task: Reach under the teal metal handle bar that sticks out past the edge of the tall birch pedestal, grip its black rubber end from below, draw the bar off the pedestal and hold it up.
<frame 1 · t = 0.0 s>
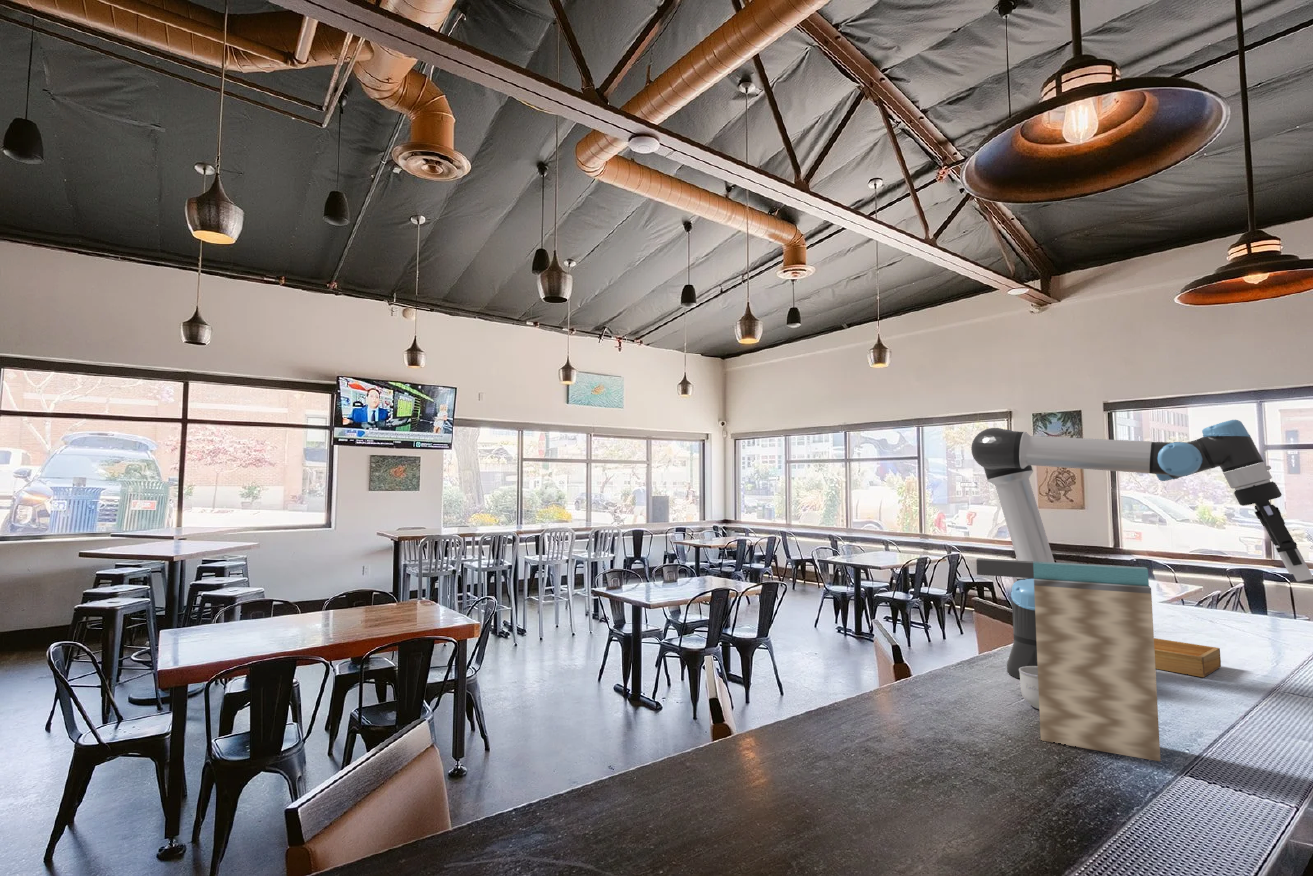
hand: (1301, 576, 141), 28 cm above the bar counter, tool tilted 20°, fingers open, 13 cm apart
pedestal: (1096, 742, 120), on the bar counter
handle bar: (1057, 579, 124), point 30 cm above the bar counter, touching pedestal
tray: (1140, 662, 175), on the bar counter
teacup: (1057, 710, 137), on the bar counter
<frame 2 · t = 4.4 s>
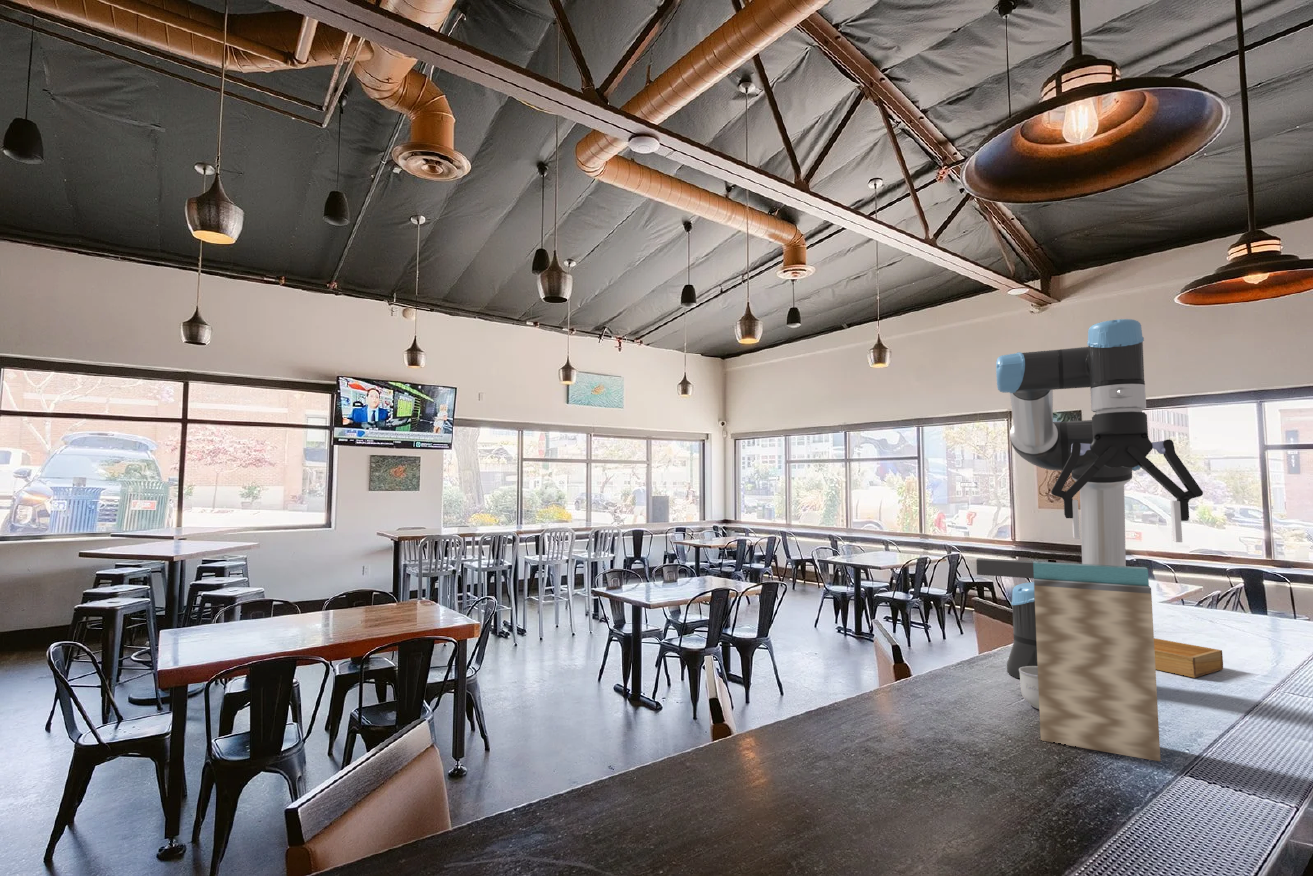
hand: (1125, 540, 105), 39 cm above the bar counter, tool pointing down, fingers open, 13 cm apart
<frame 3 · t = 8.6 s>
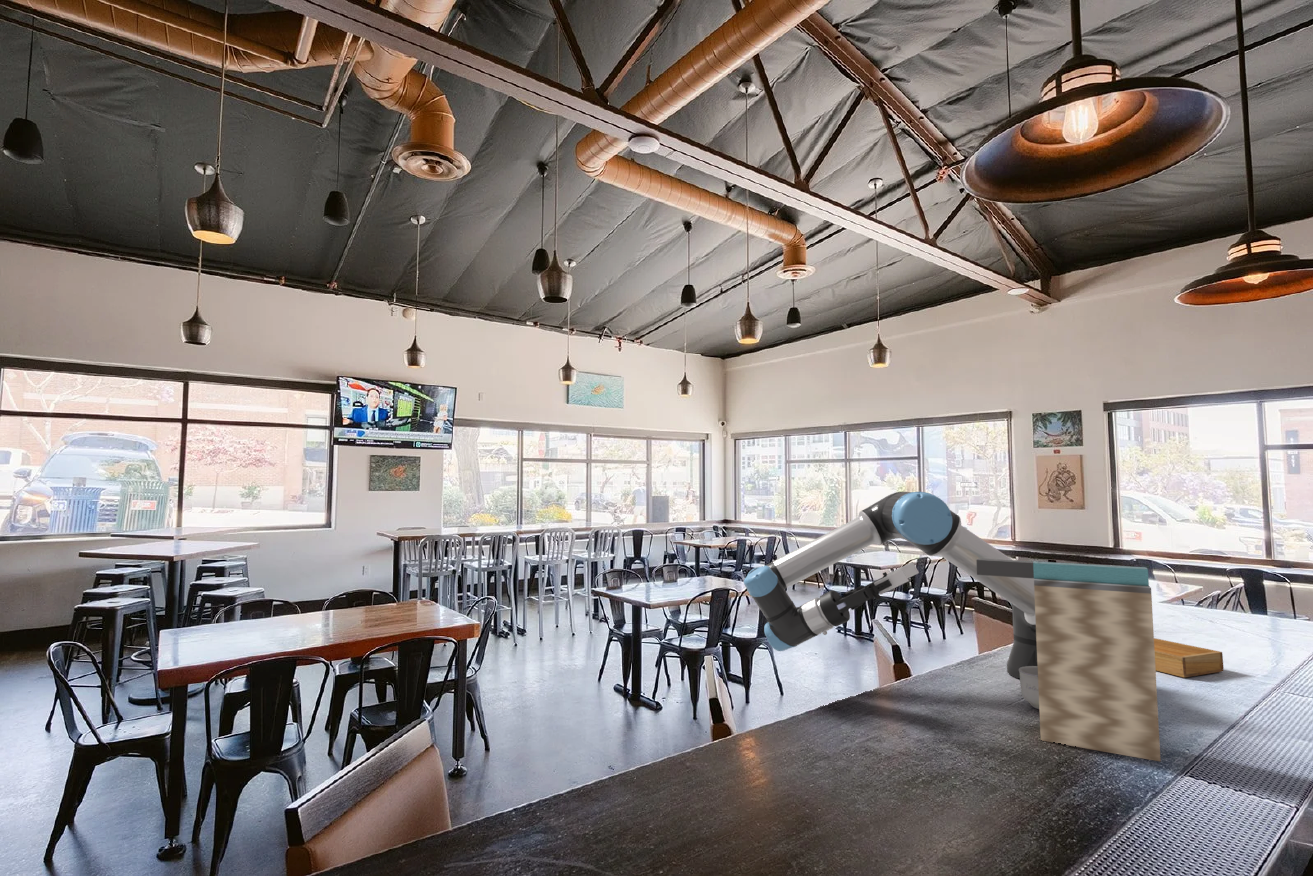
hand: (910, 570, 138), 30 cm above the bar counter, tool pointing upward, fingers open, 13 cm apart
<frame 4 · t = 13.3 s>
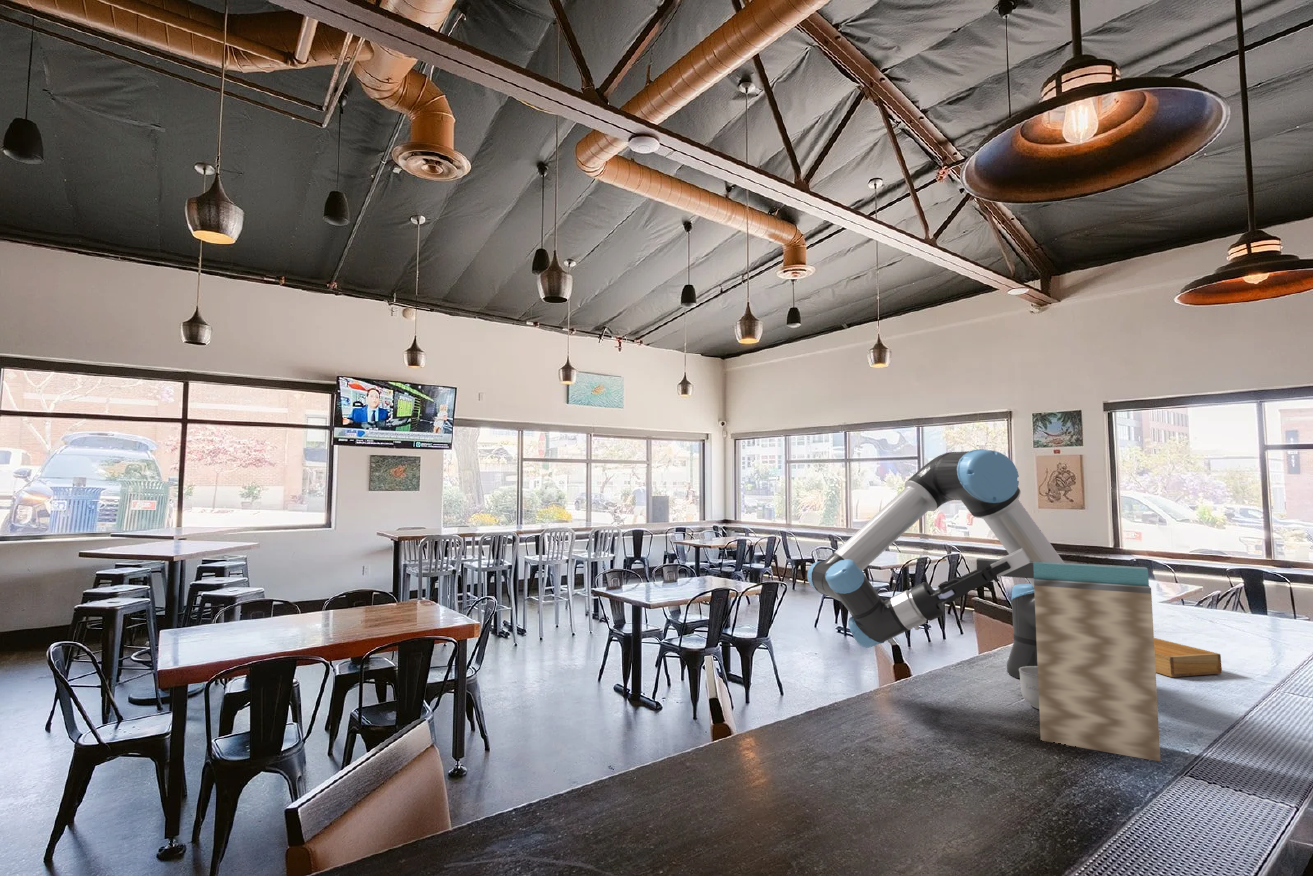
hand: (1025, 555, 127), 34 cm above the bar counter, tool pointing upward, fingers closed on handle bar, 3 cm apart
handle bar: (1057, 579, 124), point 30 cm above the bar counter, touching gripper, pedestal
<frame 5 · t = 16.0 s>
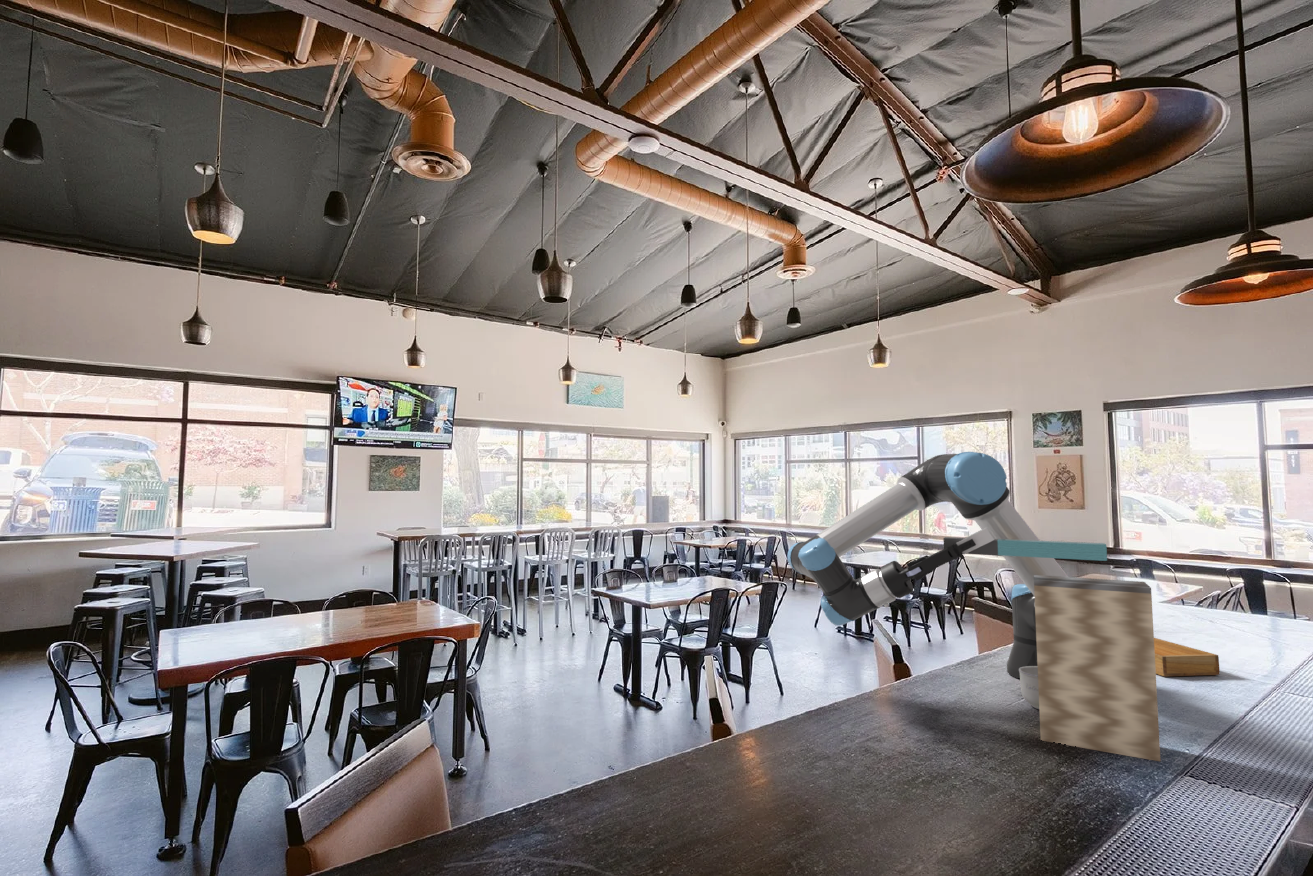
hand: (990, 533, 130), 38 cm above the bar counter, tool pointing upward, fingers closed on handle bar, 3 cm apart
handle bar: (1021, 555, 127), point 34 cm above the bar counter, touching gripper
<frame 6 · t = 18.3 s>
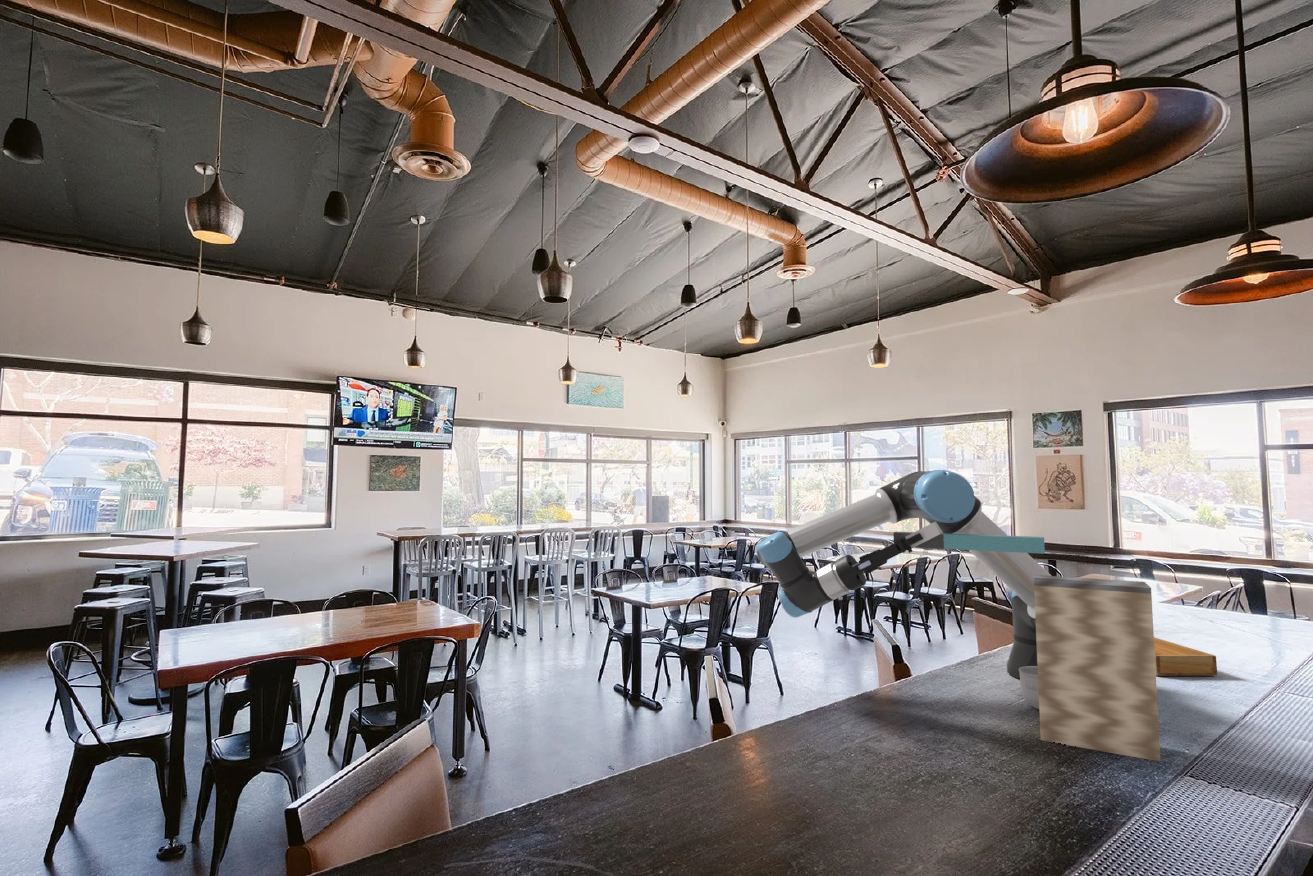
hand: (937, 527, 135), 39 cm above the bar counter, tool pointing upward, fingers closed on handle bar, 3 cm apart
handle bar: (965, 549, 132), point 35 cm above the bar counter, touching gripper
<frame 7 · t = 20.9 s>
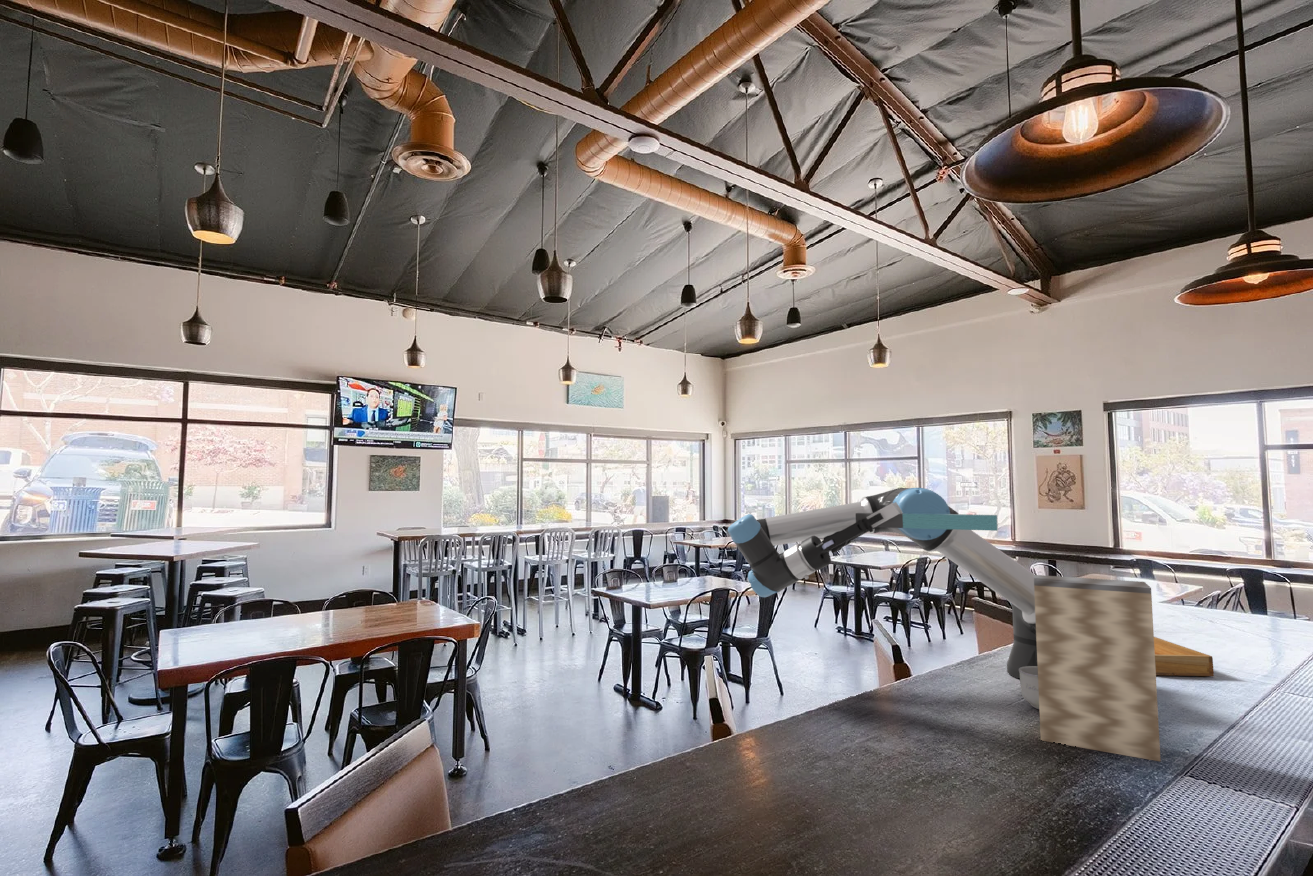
hand: (897, 507, 140), 43 cm above the bar counter, tool pointing upward, fingers closed on handle bar, 3 cm apart
handle bar: (923, 528, 137), point 39 cm above the bar counter, touching gripper
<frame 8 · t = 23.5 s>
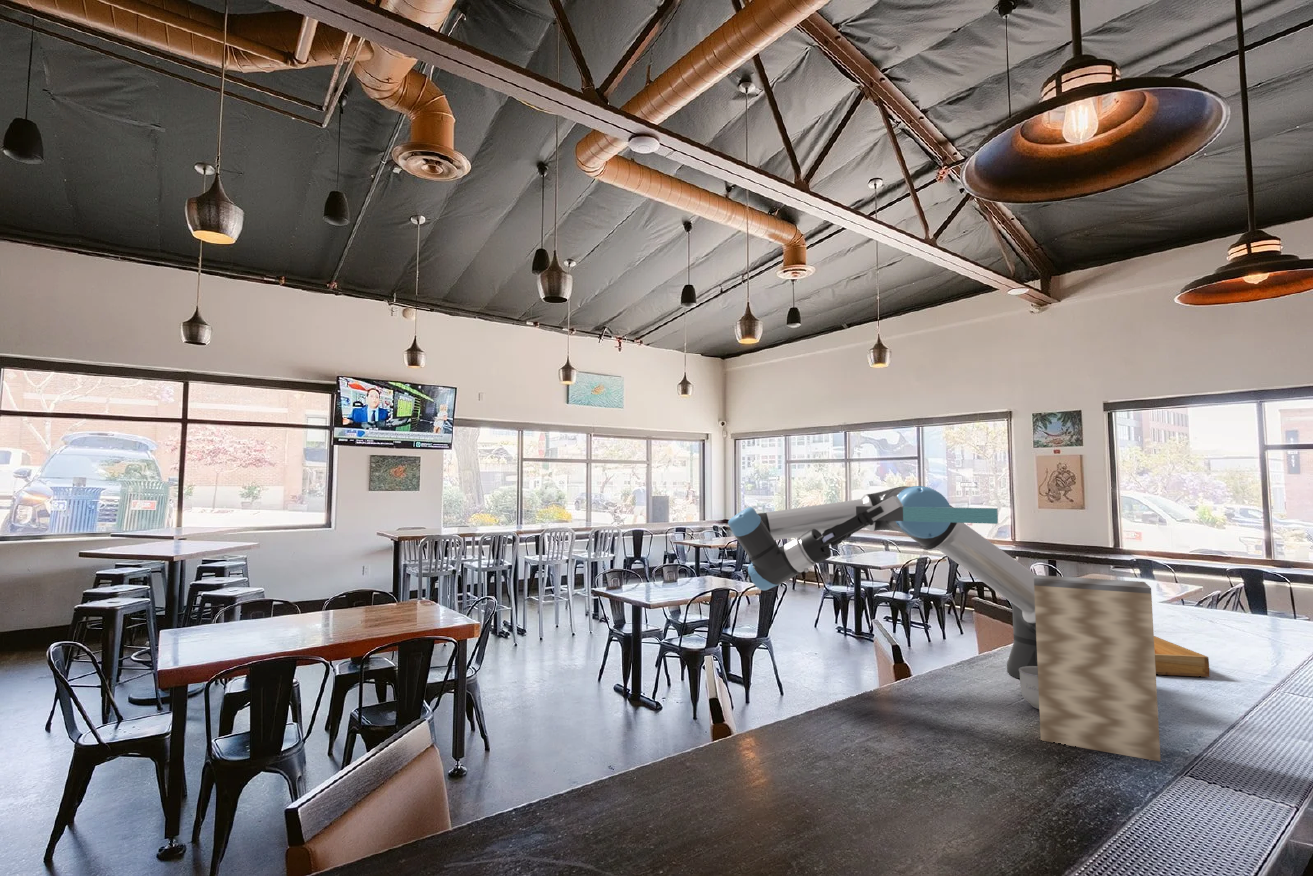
hand: (897, 501, 140), 45 cm above the bar counter, tool pointing upward, fingers closed on handle bar, 3 cm apart
handle bar: (924, 521, 137), point 40 cm above the bar counter, touching gripper
at the end: the gripper is holding handle bar; handle bar touching gripper; handle bar moved 26.2 cm from its start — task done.
